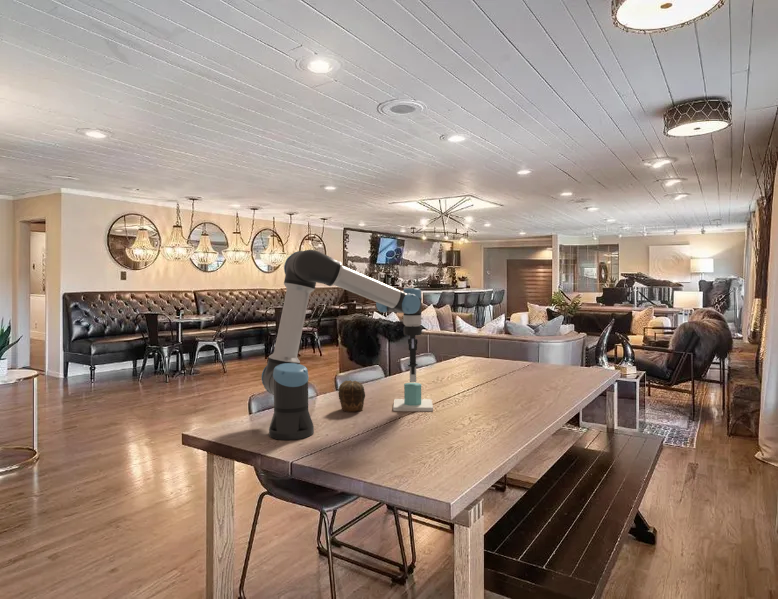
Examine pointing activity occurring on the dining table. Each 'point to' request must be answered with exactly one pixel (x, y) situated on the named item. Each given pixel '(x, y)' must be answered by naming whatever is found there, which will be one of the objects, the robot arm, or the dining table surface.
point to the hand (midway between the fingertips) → (413, 381)
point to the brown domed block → (351, 396)
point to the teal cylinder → (412, 394)
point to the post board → (425, 405)
